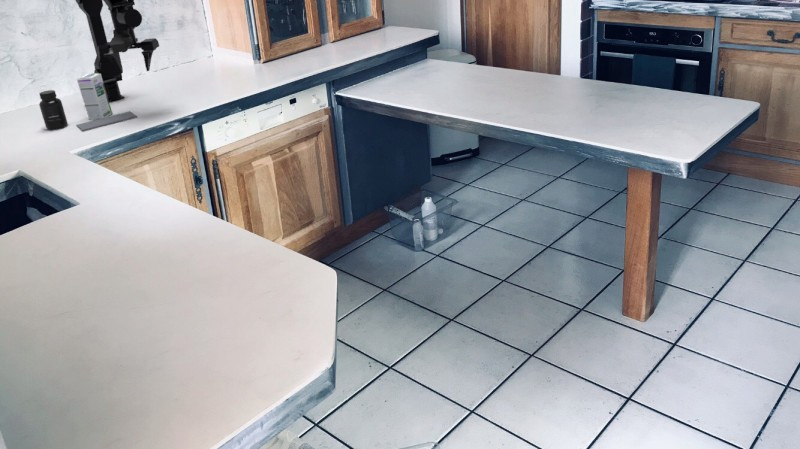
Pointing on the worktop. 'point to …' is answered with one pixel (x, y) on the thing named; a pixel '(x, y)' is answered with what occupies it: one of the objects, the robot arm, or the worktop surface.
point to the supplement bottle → (52, 111)
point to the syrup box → (94, 96)
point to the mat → (106, 121)
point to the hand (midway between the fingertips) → (135, 72)
